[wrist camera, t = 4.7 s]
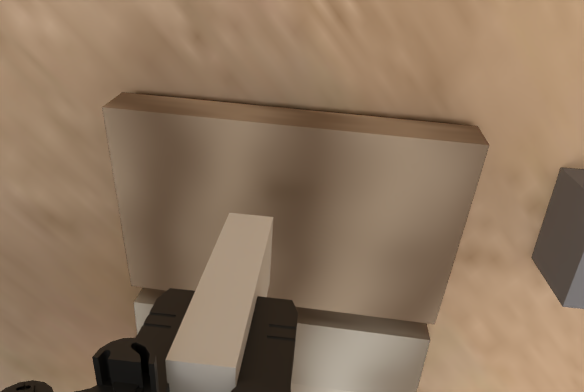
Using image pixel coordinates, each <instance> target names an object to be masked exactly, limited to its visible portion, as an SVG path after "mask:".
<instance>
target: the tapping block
mask: <svg viewBox="0 0 584 392" xmlns="http://www.w3.org/2000/svg"><path fill="white" fill-rule="evenodd" d="M531 258H532V259H533V261H534V263H535V264H536V266H537V267H538V269H539V270H540V272H541V274H542V275H543V277H544V278H545V280H546V281H547V283H548V284H549V286H550V288H551V289H552V291H553V292H554V294H555V295H556V297H557V298H558V300H559V302H560V303H561V305H562V306H563V307H571V308H580V309H584V169H573V168H560V171H559V174H558V178H557V181H556V184H555V187H554V190H553V193H552V196H551V199H550V202H549V205H548V208H547V211H546V214H545V217H544V220H543V224H542V227H541V230H540V233H539V236H538V239H537V242H536V245H535V248H534V251H533V254H532V257H531Z"/></svg>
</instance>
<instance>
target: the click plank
mask: <svg viewBox="0 0 584 392" xmlns="http://www.w3.org/2000/svg"><path fill="white" fill-rule="evenodd" d="M102 109H103V115H104V121H105V128H106V134H107V140H108V146H109V152H110V158H111V164H112V170H113V177H114V183H115V189H116V195H117V201H118V207H119V213H120V220H121V226H122V232H123V238H124V244H125V250H126V256H127V262H128V269H129V275H130V281H131V286H136V287H144V288H152V289H159V290H168V289H169V288H174V289H184V290H193V291H196V288H197V286H198V284H199V281H200V279H201V277H202V274H203V272H204V270H205V268H206V265H207V263H208V261H209V258H210V256H211V254H212V251H213V249H214V247H215V245H216V242H217V240H218V238H219V235H220V233H221V231H222V228H223V226H224V224H225V222H226V219H227V217H228V215H229V213H238V214H248V215H259V216H269V217H273V231H272V249H271V268H270V283H269V288H268V293H267V297H269V298H279V299H288V300H292V301H293V303H294V305H295V307H302V308H310V309H318V310H326V311H334V312H342V313H350V314H358V315H366V316H373V317H381V318H389V319H397V320H405V321H413V322H421V323H429V324H435V322H436V319H437V315H438V312H439V309H440V306H441V302H442V299H443V296H444V293H445V289H446V286H447V283H448V279H449V276H450V273H451V270H452V266H453V263H454V260H455V256H456V253H457V250H458V247H459V243H460V240H461V237H462V233H463V230H464V227H465V224H466V220H467V217H468V214H469V211H470V207H471V204H472V201H473V197H474V194H475V191H476V188H477V184H478V181H479V178H480V174H481V171H482V168H483V165H484V161H485V158H486V155H487V151H488V148H489V144H488V142H487V141H486V139H485V137H484V136H483V134H482V132H481V131H480V129H479V127H478V126H469V125H458V124H448V123H437V122H427V121H417V120H406V119H396V118H385V117H375V116H364V115H354V114H343V113H333V112H322V111H312V110H302V109H291V108H281V107H270V106H260V105H249V104H239V103H228V102H218V101H208V100H197V99H187V98H176V97H166V96H155V95H145V94H134V93H124V92H122V93H121V94H120V95H118V96H117V97H116V98H114V99H113V100H111V101H110V102H109V103H107V104H106V105H105V106H103V107H102Z"/></svg>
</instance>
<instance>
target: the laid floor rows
mask: <svg viewBox="0 0 584 392" xmlns="http://www.w3.org/2000/svg"><path fill="white" fill-rule="evenodd" d="M166 291H167V290H159V289H152V288H144V287H143V288H142V290H141V292H140V293H139V295H138V296H137V298H136V299H135V301H134V310H135V319H136V328H137V334H138V332H139V331H140V329H141V327H142V326H143V325H144V321H145V320H146V318H147V316H148V315H149V313H150V310H151V308H152V307H153V305H154V303H155V301H156V299H157V298H158V297H160V296H161V295H162V294H163V293H165V292H166ZM296 309H297V312H298V320H297V331H296V342H295V352H294V362H293V371H292V381H291V392H417V388H418V384H419V381H420V377H421V373H422V369H423V366H424V362H425V358H426V354H427V350H428V347H429V343H430V337H429V333H428V328H427V323H421V322H413V321H405V320H397V319H389V318H381V317H373V316H366V315H358V314H350V313H342V312H334V311H326V310H318V309H310V308H302V307H296Z"/></svg>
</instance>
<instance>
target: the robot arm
mask: <svg viewBox="0 0 584 392" xmlns="http://www.w3.org/2000/svg"><path fill="white" fill-rule="evenodd" d="M272 231H273V217H269V216H259V215H248V214H238V213H229V215H228V217H227V219H226V222H225V224H224V226H223V228H222V231H221V233H220V235H219V238H218V240H217V242H216V245H215V247H214V249H213V251H212V254H211V256H210V258H209V261H208V263H207V265H206V268H205V270H204V272H203V274H202V277H201V279H200V281H199V284H198V286H197V288H196V291H193V290H184V289H174V288H169V289H168V290H167V291H166V292H165V293H163V294H162V295H161V296H160V297H158V298H157V299H156V301H155V303H154V305H153V307H152V308H151V310H150V313H149V315H148V316H147V318H146V320H145V321H144V325H143V326H142V327H141V329H140V331H139V332H138V334H137V336H136V338H123V339H119V340H116V341H113V342H110V343H108V344H107V345H105V346H103V347H102V348H100V349H99V350H98V351H97V353H96V354H95V355H94V356H93V357H92V358H93V364H94V369H95V375H96V381H97V386H95V387H92V388H90V389H86V390H82V391H76V392H291V381H292V371H293V362H294V352H295V342H296V331H297V320H298V312H297V309H296V307H295V305H294V303H293V301H292V300H288V299H279V298H269V297H267V293H268V288H269V283H270V268H271V249H272ZM1 392H53V390H52V387H50V386H49V385H47V384H46V383H45V382H40V381H33V380H32V381H26V382H19V383H17V384H15V385H12V386H10V387H7V388H5V389H4V390H2V391H1Z"/></svg>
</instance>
